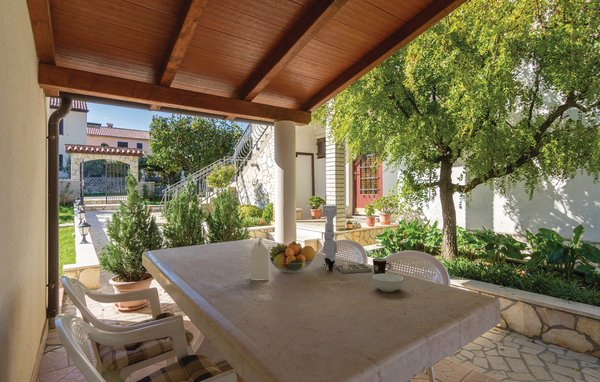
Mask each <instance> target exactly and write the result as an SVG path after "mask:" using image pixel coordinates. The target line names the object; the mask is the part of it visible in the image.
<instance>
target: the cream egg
mask: <svg viewBox="0 0 600 382" xmlns="http://www.w3.org/2000/svg"><path fill="white" fill-rule="evenodd" d="M342 265H343V266H342V269H343V270H347V269H349V266H348V265H349V263H348V262H345V261H344V262H343V263H342Z"/></svg>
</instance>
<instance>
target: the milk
mask: <svg viewBox="0 0 600 382" xmlns="http://www.w3.org/2000/svg"><path fill="white" fill-rule="evenodd" d="M271 265H272V263H271V248H270V246H269V245H268V244H267V242H266V241H264V240H263V235H259V237H258V242H257V241H256V242H255V243H254V244H253V247H252V248H251V251H250V279H264V280H269V279H270V280H271V277H272V266H271ZM270 276H271V277H270ZM270 280H269V281H270Z"/></svg>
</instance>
